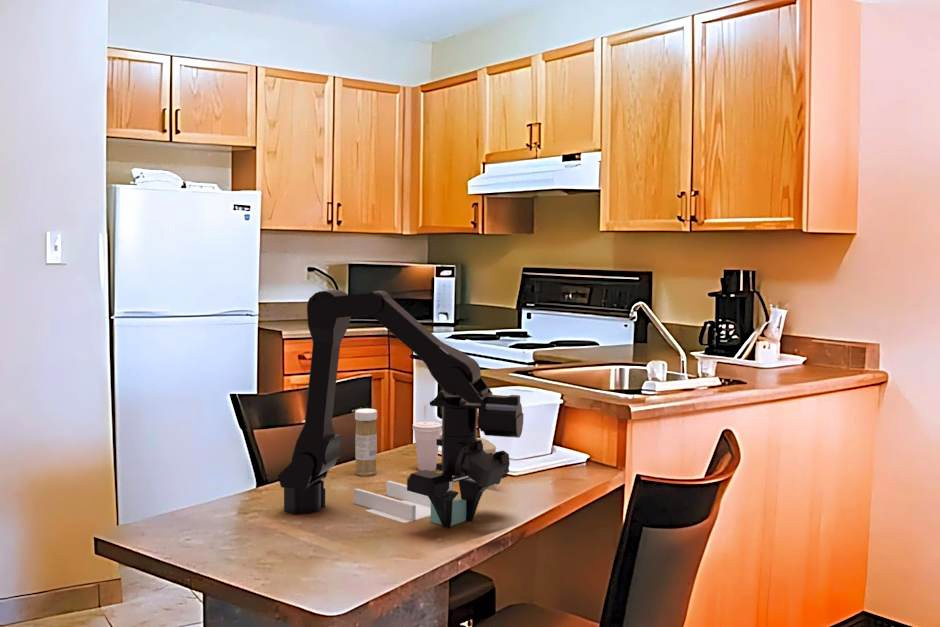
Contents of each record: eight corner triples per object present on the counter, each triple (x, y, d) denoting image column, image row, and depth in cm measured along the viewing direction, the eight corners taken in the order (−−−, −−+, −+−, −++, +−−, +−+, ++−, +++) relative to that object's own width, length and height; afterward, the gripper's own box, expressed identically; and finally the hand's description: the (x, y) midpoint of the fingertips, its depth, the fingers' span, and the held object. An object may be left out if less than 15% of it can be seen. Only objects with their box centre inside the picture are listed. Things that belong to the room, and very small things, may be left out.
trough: (404, 531, 152) (404, 508, 152) (346, 513, 162) (346, 490, 162) (454, 516, 161) (454, 494, 160) (396, 500, 171) (396, 478, 170)
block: (430, 530, 153) (448, 535, 150) (430, 501, 152) (449, 506, 150) (447, 524, 156) (465, 529, 154) (448, 496, 156) (466, 500, 153)
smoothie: (408, 466, 197) (409, 402, 196) (437, 464, 199) (438, 401, 198) (416, 473, 191) (416, 407, 190) (445, 471, 193) (446, 406, 192)
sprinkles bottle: (369, 470, 193) (369, 407, 192) (381, 474, 190) (381, 410, 189) (350, 473, 190) (350, 409, 190) (362, 477, 187) (362, 412, 186)
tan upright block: (499, 491, 178) (500, 441, 177) (473, 494, 176) (473, 442, 175) (488, 484, 183) (489, 435, 182) (462, 487, 181) (463, 437, 180)
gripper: (455, 450, 138) (454, 551, 140) (532, 432, 152) (531, 525, 153) (405, 438, 146) (404, 534, 147) (482, 423, 160) (481, 511, 161)
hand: (457, 526), depth 152 cm, fingers open, 5 cm apart
